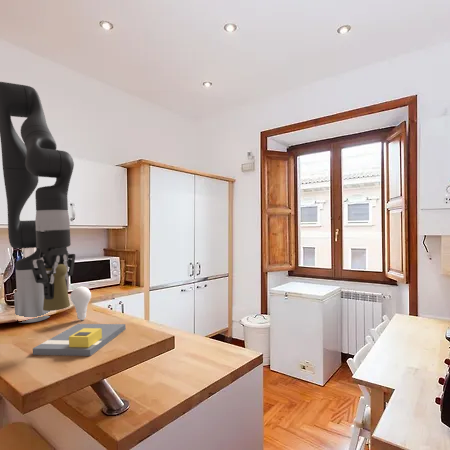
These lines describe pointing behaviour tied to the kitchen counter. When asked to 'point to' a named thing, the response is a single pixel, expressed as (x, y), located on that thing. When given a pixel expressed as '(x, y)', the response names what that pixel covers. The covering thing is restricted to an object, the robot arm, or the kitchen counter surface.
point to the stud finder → (85, 337)
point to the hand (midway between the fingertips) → (56, 296)
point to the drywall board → (61, 347)
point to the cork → (58, 291)
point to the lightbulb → (81, 301)
